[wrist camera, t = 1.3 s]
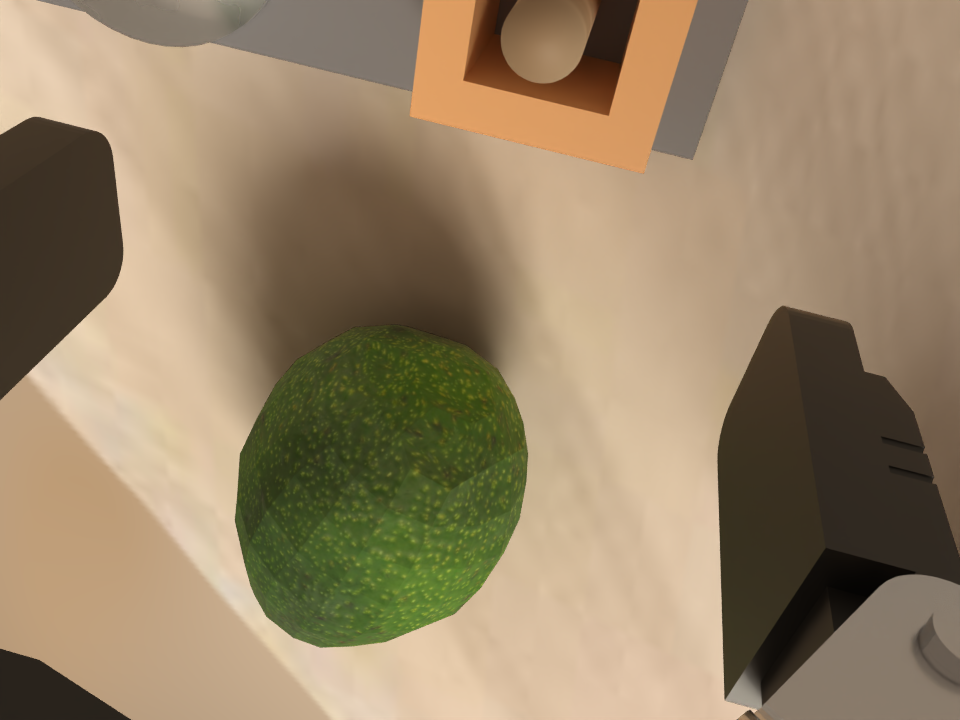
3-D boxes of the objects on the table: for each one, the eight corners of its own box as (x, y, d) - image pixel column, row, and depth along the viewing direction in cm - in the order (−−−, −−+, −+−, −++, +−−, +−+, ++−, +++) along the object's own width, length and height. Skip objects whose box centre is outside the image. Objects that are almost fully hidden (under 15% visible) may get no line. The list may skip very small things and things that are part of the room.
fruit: (428, 567, 40) (364, 769, 32) (240, 470, 39) (125, 657, 31) (602, 361, 31) (571, 573, 23) (364, 225, 30) (247, 402, 22)
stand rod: (614, -49, 22) (593, 7, 17) (596, 23, 23) (573, 91, 18) (546, -64, 22) (509, -13, 18) (532, 7, 23) (494, 73, 19)
